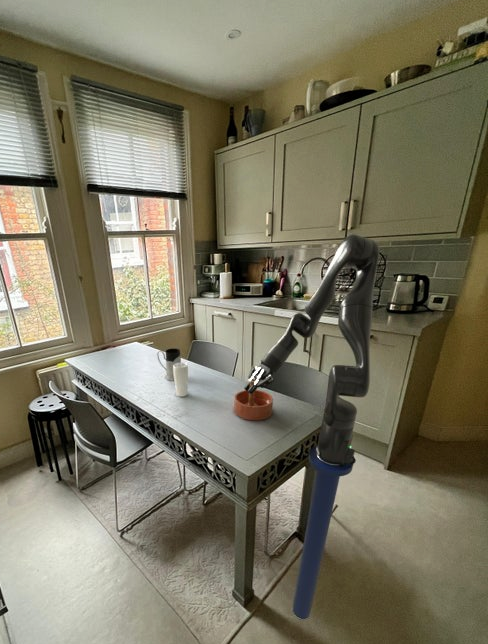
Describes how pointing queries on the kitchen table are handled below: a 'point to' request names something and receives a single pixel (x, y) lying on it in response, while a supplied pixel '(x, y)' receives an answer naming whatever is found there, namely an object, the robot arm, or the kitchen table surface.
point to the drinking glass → (180, 378)
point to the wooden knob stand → (251, 395)
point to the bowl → (253, 412)
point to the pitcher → (171, 361)
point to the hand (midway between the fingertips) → (247, 391)
